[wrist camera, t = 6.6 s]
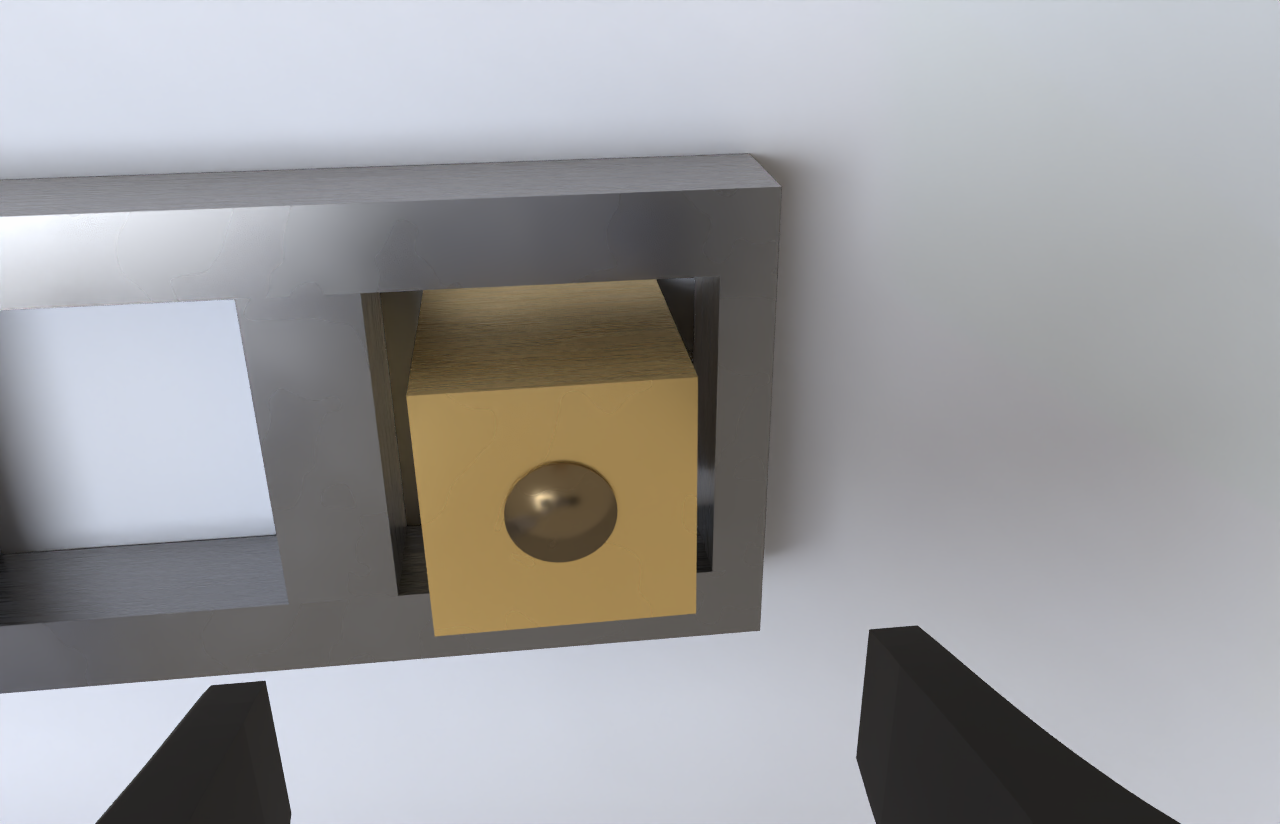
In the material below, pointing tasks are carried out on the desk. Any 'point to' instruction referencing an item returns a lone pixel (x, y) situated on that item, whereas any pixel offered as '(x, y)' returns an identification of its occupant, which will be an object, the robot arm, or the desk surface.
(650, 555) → the nut block
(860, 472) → the desk surface
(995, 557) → the desk surface
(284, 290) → the grey metal flat frame
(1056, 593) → the desk surface
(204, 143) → the desk surface
